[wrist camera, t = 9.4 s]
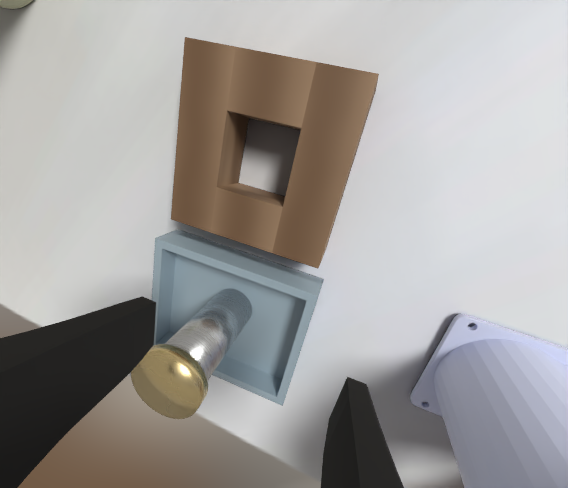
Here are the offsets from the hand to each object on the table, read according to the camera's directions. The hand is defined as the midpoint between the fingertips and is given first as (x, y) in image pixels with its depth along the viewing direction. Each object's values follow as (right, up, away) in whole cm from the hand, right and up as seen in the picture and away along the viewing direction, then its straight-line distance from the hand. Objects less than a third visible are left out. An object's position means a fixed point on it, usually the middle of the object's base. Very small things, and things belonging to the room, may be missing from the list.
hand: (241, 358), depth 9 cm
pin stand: (+1, +10, +8) cm, 13 cm away
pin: (-2, -1, +12) cm, 12 cm away
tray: (-2, -1, +12) cm, 13 cm away
